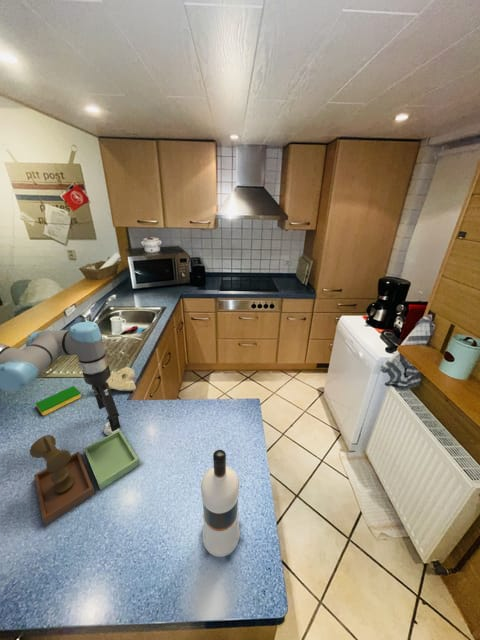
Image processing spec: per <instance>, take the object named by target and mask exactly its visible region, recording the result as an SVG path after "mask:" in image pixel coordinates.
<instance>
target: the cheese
mask: <svg viewBox="0 0 480 640" xmlns="http://www.w3.org/2000/svg"><path fill="white" fill-rule="evenodd" d="M134 379H136V373H135V370H134V369H133V368H131V367H128V366H124V367H122V368H121V369H120V370H117V371H115V372H111V376H110V378H109V379H108V380H107V381H106V382H108V385H109V388H110V389H111V390H115V391H116V390H117V391H120V392H134V391H136V390H137V387H136V383H135V382H134Z"/></svg>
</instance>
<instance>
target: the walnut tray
mask: <svg viewBox="0 0 480 640" xmlns="http://www.w3.org/2000/svg"><path fill="white" fill-rule="evenodd" d="M70 455H71V458H70V461H69V462H68V463H67V465H66V466H65V467H64V468H67V469H69V471H70V472H69V475H71V476H73V477H74V479H75V481H74V484H73V486H72V487H71V488H70V489H69V490H67V491H66V492H64V493H61V494H57V493H56V492H55V491H54V489H53V488H54V484H55V483H53V482H52V481H51V476H52V475H53V473H50V472H48V470H47V468H46V467H45V468H44V469H42V470H41V471H39V472H37V473H35V474H34V475H33V476H34V482H35V488H36V492H37V498H38V501H39V507H40V512H41V517H42V521H43V522H44V525H45V526H47V525H48V524H50V523H52V522H53V521H55V520H57V519H58V518H60V517H61V516H63V515H64V514H65V513H68V512H69V511H70V510H72V509H74V508H76V507H77V506H78V505H80V504H81V503H83V502H84V501H86V500H88V499H89V498H91V497H92V496H94V495H95V494H96V492H95V490H94V486H93V483H92V482H91V479H90V477H89V473H88V472H87V471H88V470H87V469H86V465H85V464H84V461H83V457H82V456H81V452H80V451H77V452H74V453H73V454H70Z"/></svg>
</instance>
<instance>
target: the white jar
mask: <svg viewBox="0 0 480 640" xmlns="http://www.w3.org/2000/svg"><path fill="white" fill-rule="evenodd" d="M118 430H120V428H119V429H117V430H115V431H113V432H112V430H111V427H110V423H109V421H108V422H107V423H106V424H105V426H104V429H103V432H104V434H105V435H107V436H109V435H110V434H112V433H114V432H116V431H118Z"/></svg>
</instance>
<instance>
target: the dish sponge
mask: <svg viewBox="0 0 480 640" xmlns="http://www.w3.org/2000/svg"><path fill="white" fill-rule="evenodd" d="M80 398H82V395H81V392H80V391H79V390H78V389H77V388H76V387H75V385H73V386H69V387H68V388H65V389H63V390H61V391H58V392H57V393H54V394H52V395H50V396H48V397H46V398H44V399H42V400H39V401H37V402H35V406H36V408H37V410H38V411H39V412H40V414H41V415H42V416H47V415H48V414H51V413H52V412H55V411H56V410H58V409H61V408H62V407H64V406H66V405H69V404H70V403H73V402H74V401H76V400H78V399H80Z"/></svg>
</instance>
